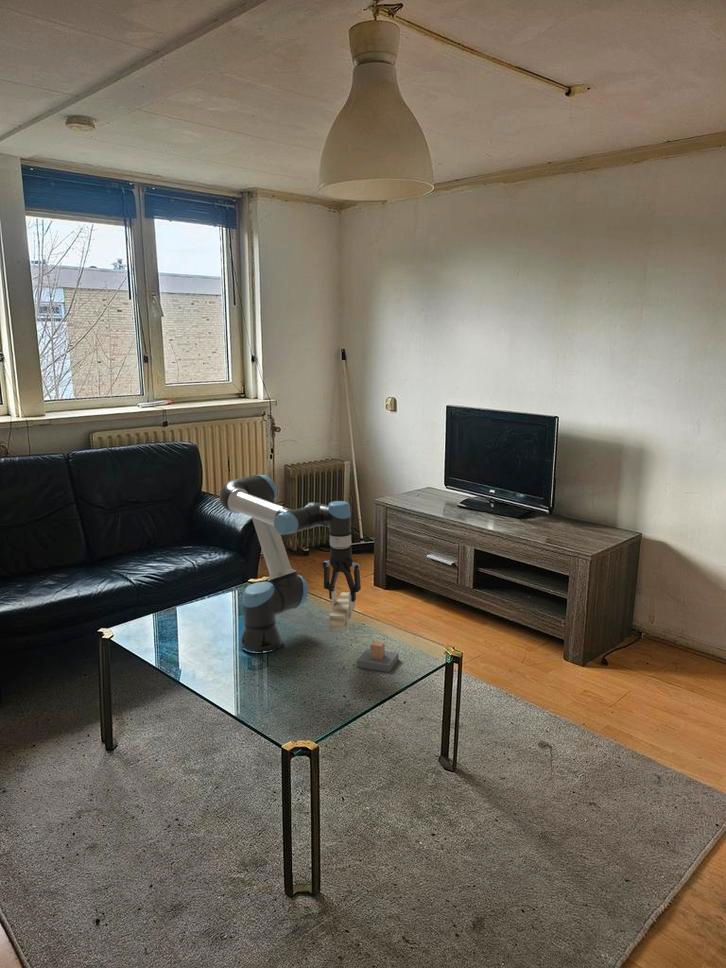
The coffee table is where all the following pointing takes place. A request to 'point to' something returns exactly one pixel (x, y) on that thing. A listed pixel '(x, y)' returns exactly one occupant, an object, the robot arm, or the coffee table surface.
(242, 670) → the coffee table surface
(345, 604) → the beam
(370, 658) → the fulcrum
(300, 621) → the coffee table surface
